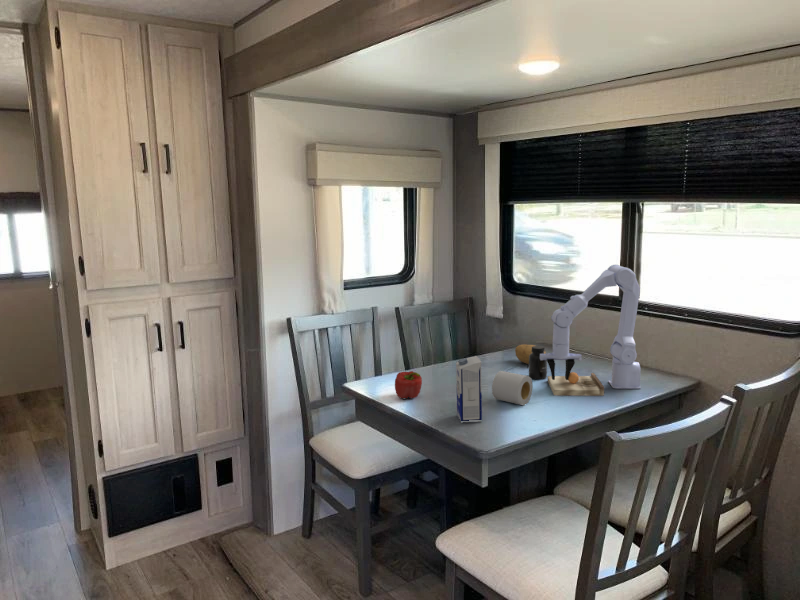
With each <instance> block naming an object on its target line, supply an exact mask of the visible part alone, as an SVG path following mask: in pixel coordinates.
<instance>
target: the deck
mask: <svg viewBox="0 0 800 600" xmlns="http://www.w3.org/2000/svg"><path fill="white" fill-rule="evenodd" d="M578 376H579V380H578V381H577V382H576V383H570V382H569V381H568V380H566V379H565V375H555V380H552V375H550V376H549V375H547V383H548V386H549V387H550V389H551V392H552V394H553V396H562V397H563V396H564V397H567V396H568V397H569V396H578V397H579V396H580V397H581V396H584V397H586V396H587V397H588V396H590V397H591V396H592V397H593V396H594V397H595V396H603V397H604V396H605V386H604V385H603V383H602V382H601V381H600V379H599V378H598V376H597V375H596V374H595V373H594V372H591V373H590V375H578Z"/></svg>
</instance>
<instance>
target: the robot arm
mask: <svg viewBox="0 0 800 600" xmlns="http://www.w3.org/2000/svg"><path fill="white" fill-rule="evenodd" d="M609 287H619V288H620V290H621V291H622V292H623V293H622V294H623V295H622V302H621V307H620V309H621V310H620V316H619V322H618V329H617V334H616V335H615V336H614V339H613V342H612V344H611V345H610V346H609V347H610V348H609V353H610V355H611V356H612V363H611V380H608V383H609V385H611V387H612V388H613V389H642V387H641V373H642V371H641V370H642V369H641V365H640V362H638V361H636V359H637V356H638V354H637V351H636V345H637V344H636V342H635V339H634V333H635V326H636V321H637V314H638V313H637V312H638V307H639V299H640V294H641V287H640V285H639V281H638V279H637V275H636V273H635V272H634V271H633V270H632V269H631V268H629V267H626V266H625V267H624V266H622V265H619V264H612V265H609V267H608V268H607V269H605V270H604V271H602V273H601V274H600V275H599V276H598V277H597V278H596V279H595V280H594V281H593V282H592V283H591V284H590V285H589V286H588V287H587V288H586V289H585V290H584V291H583V292H582V293H581V294H575V295H571V296H570V297H569V298H570V299H569V300H568V301H567V302H566V303H564V304H563V305H560V306H559V308H558V309H555V310H554V311H553V312H552V315H550V318H551V321H552V322H553V329H552V352H548V353H547V352H546V354H540V360H547V365H548V367H549V370H550V374H551V375H550V376H552V380H555V376H556V375H555V371H556V370H555V369H556V362H555V361H565V372H564V373H565V375H564V376H565V379H566V380H568V378H569V374H570V373H571V372H572V369H574V368H573V367H574V366H575V364H576V361H580V362H581V361H582V360H583V358H582V357H583V355H582V354H581V353H570V333H571V331H570V326H571V325H572V323H573V322H574V321H573V320H574V319H575V318H576V317H577V316H578V315H580V313H582V312H583V310H585V309H586V308H587V307H588V304H589V301H590V300H592V299H593V298H594V297H595V296H597V294H599V293H600V292H602V291H603V290H604V289H606V288H609Z"/></svg>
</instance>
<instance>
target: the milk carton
mask: <svg viewBox="0 0 800 600" xmlns="http://www.w3.org/2000/svg"><path fill="white" fill-rule="evenodd" d="M455 362H456V363H455V364H456V366H455V369H456V370H455V372H456V375H455V376H456V378H455V379H456V416H457V415H458V416H457V418H458V417H459V418H460V420H461V421H469V420H482V421H483V414H482V413H483V410H482V409H483V408H482V407H483V403H482V402H483V397H482V393H483V392H482V391H483V390H482V386H483V385H482V360H481V359H480V358H479V356H477V355H474V356H470V357H465V358H461V359H459V360H458V361H455ZM459 418H458V419H459ZM460 420H459V421H460Z"/></svg>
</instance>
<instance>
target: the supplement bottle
mask: <svg viewBox="0 0 800 600" xmlns="http://www.w3.org/2000/svg"><path fill="white" fill-rule="evenodd" d="M544 352H546V350H545V346H543V345H535V346H533V347H532V353H531V354H530V355H529V364H528V376H529V377H530V378H531V380H532V379H533V380H545V379H546V378H548V375H547V374H548V362H547V360H540V354H544Z"/></svg>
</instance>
